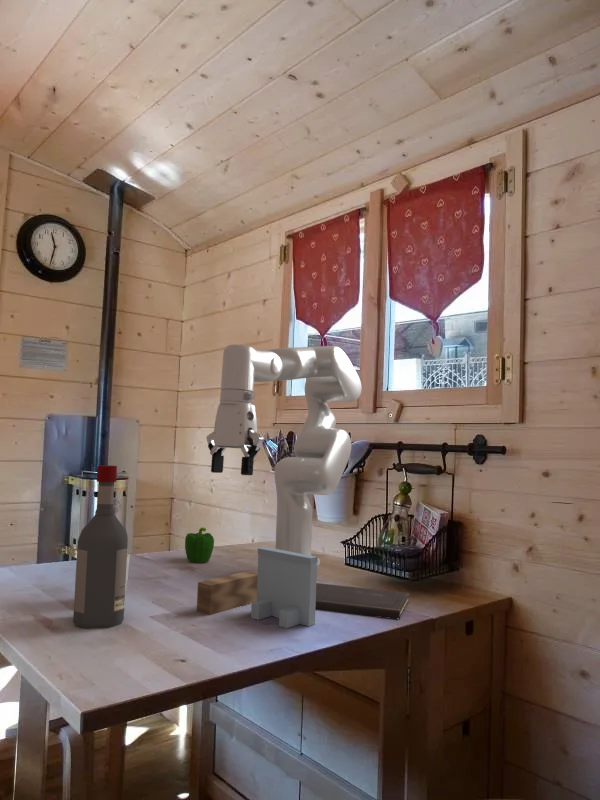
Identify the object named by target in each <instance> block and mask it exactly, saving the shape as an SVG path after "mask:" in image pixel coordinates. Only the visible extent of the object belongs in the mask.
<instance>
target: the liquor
mask: <svg viewBox="0 0 600 800" xmlns="http://www.w3.org/2000/svg"><path fill="white" fill-rule="evenodd" d="M117 470H118V466H117V465H106V464H105V465H97V469H96V471H97V472H96V482H97V483H98V484H97V487H98V488H97V497H96V498H97V502H96V503H97V504H96V509H95V512H94V515H93V517H92V518H91V519H90V520H89V521H88V522H87V523H86V525H85V526H84V527H83V528H82V529H81V532H80V534H79V537H78V539H77V545H76V546H77V548H76V550H77V551H76V564H75V565H76V566H75V581H74V585H75V586H74V596H73V597H74V602H73V617H72V618H73V619H72V622H73V624H74V626H75V627H78V628H81V629H97V628H99V629H101V628H113V627H116V626H119V625H121V624H122V622H123V621H124V620H125V616H124V615H125V602H126V597H125V584H126V565H127V554H128V544H129V543H128V541H129V537H128V531H127V529H126V528H125V527H124V525H123V524H122V522H120V520H119V519H118V518H117V516H116V515H115V509H114V494H115V482H117V477H118V476H117V474H118V473H117Z"/></svg>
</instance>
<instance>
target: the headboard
mask: <svg viewBox="0 0 600 800" xmlns="http://www.w3.org/2000/svg"><path fill="white" fill-rule="evenodd" d="M257 557H258V558H257V572H258V577H257V602H253V603H252V604H250V605H251V607H250V608H251V610H250V618H251V619H253V620H256V619H257V621H260V620H263V619H266V618H268V617H269V618H270V617H273V616H274V617H273V618H277V619H279V620H278V621H279V622H278V623H279V624H278V627H281V628H285V629H289V628H291V627H295V626H297V625H302V626H303V625H304V626H306V627H311V626H314V625H315V624H316V609H315V607H316V583H317V576H318V574H317V571H318V569H317V568H318V565H317V563H318V559H319V557H318V556H315V555H312V554H311V555H306V554H300V553H295V552H290V551H284V550H279V549H275V548H273V547H267V546H264V547H258V548H257ZM265 617H266V618H265ZM262 618H263V619H262ZM259 619H260V620H259Z"/></svg>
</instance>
